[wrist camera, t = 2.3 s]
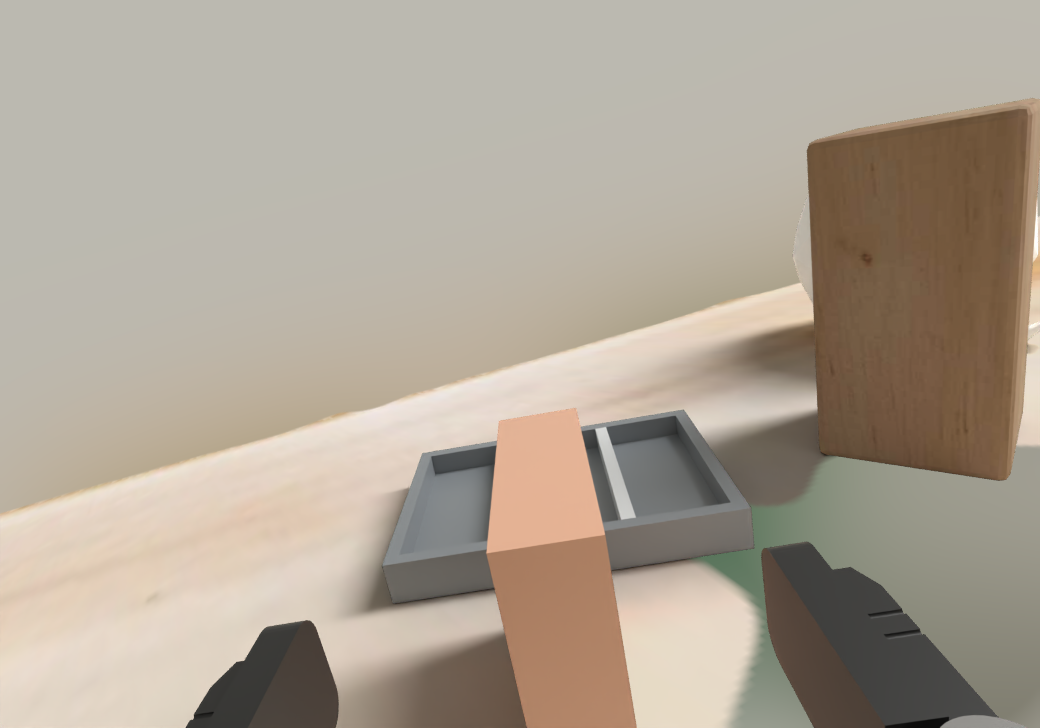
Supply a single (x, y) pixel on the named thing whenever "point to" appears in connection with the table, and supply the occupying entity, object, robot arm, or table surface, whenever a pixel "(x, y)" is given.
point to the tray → (620, 494)
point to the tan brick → (556, 577)
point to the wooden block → (925, 287)
